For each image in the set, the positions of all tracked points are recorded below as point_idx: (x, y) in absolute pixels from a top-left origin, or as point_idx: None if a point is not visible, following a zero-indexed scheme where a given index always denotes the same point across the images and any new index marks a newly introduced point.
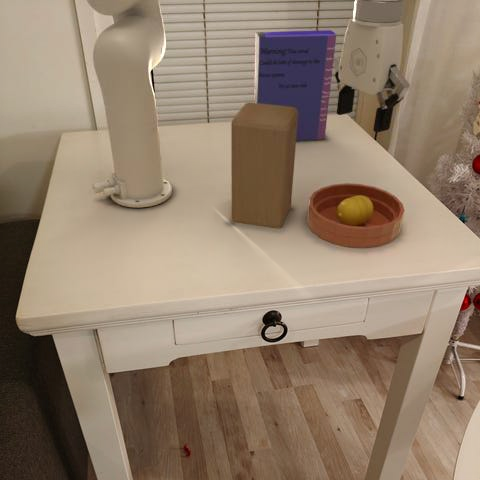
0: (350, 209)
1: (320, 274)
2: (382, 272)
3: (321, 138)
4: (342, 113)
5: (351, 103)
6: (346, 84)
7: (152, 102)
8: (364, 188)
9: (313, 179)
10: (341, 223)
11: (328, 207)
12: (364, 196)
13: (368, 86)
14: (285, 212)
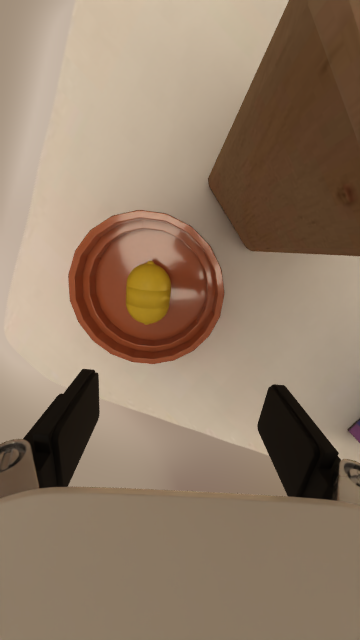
0: (135, 273)
1: (71, 140)
2: (35, 230)
3: (352, 428)
4: (267, 396)
5: (270, 447)
6: (305, 499)
7: None
8: (183, 348)
9: (282, 340)
10: None
11: (205, 293)
12: (145, 315)
13: (24, 556)
14: (222, 202)
